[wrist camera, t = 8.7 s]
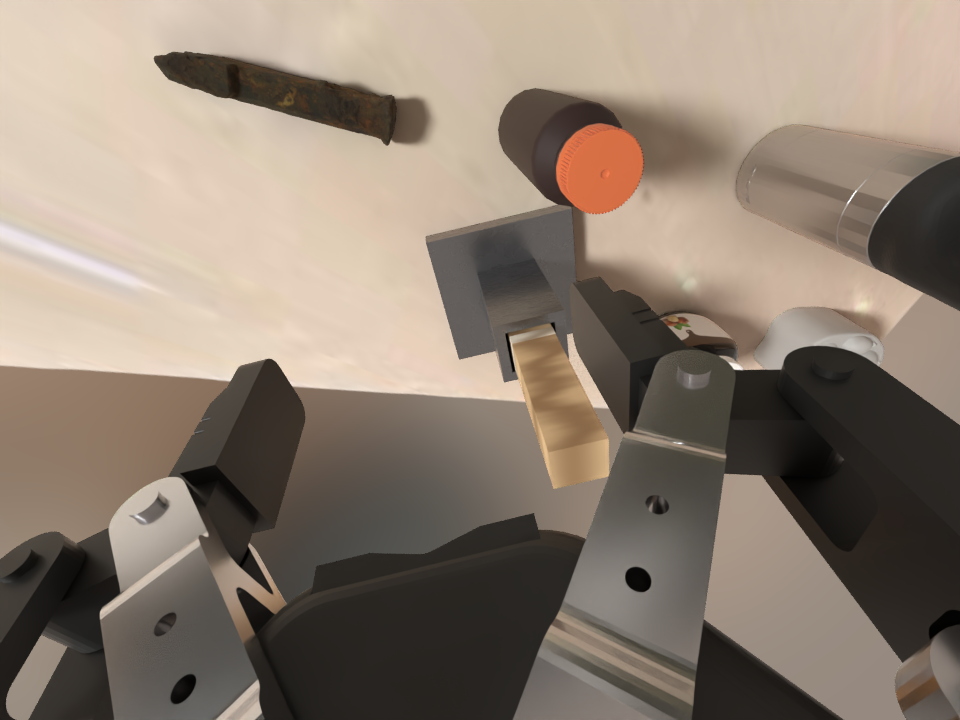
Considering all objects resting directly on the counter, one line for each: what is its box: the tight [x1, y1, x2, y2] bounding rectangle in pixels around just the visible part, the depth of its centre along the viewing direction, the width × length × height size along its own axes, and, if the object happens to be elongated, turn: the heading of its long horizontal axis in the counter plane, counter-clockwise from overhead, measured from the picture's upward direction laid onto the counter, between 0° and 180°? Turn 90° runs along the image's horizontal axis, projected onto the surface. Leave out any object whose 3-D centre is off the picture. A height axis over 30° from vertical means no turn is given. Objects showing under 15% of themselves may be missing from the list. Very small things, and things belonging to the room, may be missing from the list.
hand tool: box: [154, 52, 397, 146], centre depth 35 cm, size 19×4×5 cm, turn 73°
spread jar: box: [659, 312, 744, 370], centre depth 55 cm, size 12×11×12 cm
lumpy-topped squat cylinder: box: [754, 307, 884, 370], centre depth 59 cm, size 10×13×9 cm
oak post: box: [505, 323, 609, 489], centre depth 36 cm, size 4×4×20 cm
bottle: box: [498, 88, 644, 214], centre depth 33 cm, size 7×7×20 cm
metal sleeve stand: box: [426, 205, 576, 382], centre depth 45 cm, size 16×16×14 cm
